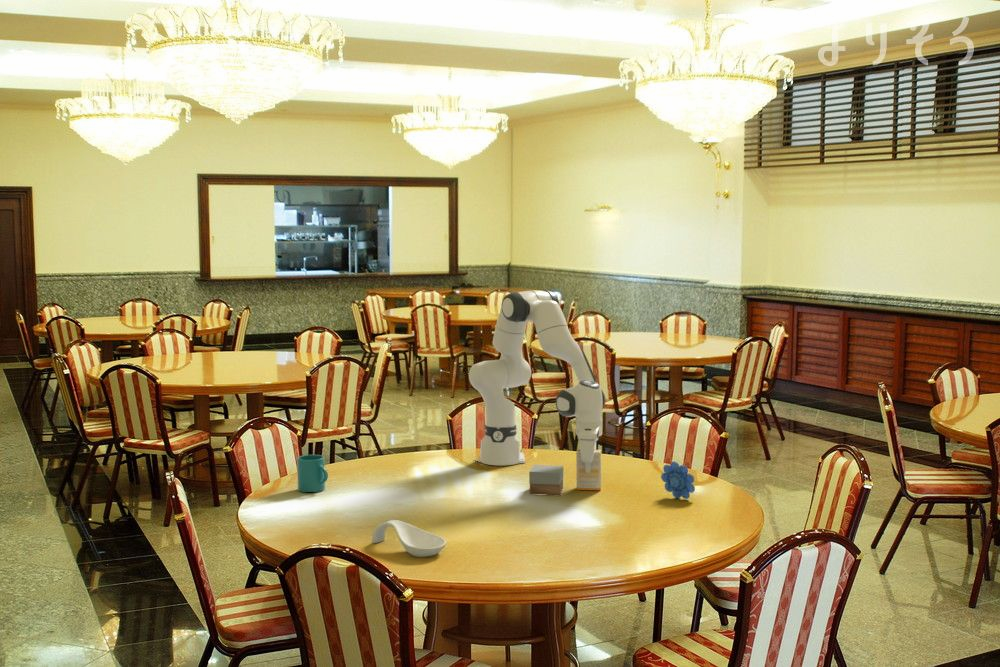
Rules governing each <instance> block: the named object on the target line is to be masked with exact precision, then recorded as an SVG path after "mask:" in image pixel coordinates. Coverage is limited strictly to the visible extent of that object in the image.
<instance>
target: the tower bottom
mask: <svg viewBox="0 0 1000 667" xmlns="http://www.w3.org/2000/svg"><path fill="white" fill-rule="evenodd" d="M562 489H563V490H564V478H563V479H562V481H561V483H560V485H551V484H529V495H530V494H547V495H546V496H555V495H560V494H562V492H563V490H562ZM560 496H561V495H560Z"/></svg>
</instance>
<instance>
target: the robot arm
mask: <svg viewBox="0 0 1000 667" xmlns="http://www.w3.org/2000/svg"><path fill="white" fill-rule="evenodd" d="M559 300H560V299H559V297H558V296H557V294H556V293H555V292H553V291H551V290H545V289H542V290H531V289H530V290H525V291H518V292H517V291H515V292H510V293H507V294H506V295H505V296H503V299H502V302H501V308H500V310H499V313H498V316H497V321H496V324H495V328H494V334H493V337H492V338H493V339H492V345H493V348H494V349H495V350H496V351H497V352H498V353H500V358H499V359H492V360H482V361H480V362H477V363H473V365H472V366H471V367H470V369H469V372H468V381H469V383H470V385H471V387H473V388H474V389H475V390H476V391H478V393H479V394H480V395H481V397H482V399H483V403H484V407H485V408H484V409H485V425H484V437H483V438H482V439H481V440H480V453H479V454H480V456H478V457H477V458H475V459H476V460H475V461H476V462H477V461H478V462H477V463H482V464H485V465H489V466H512V465H517V464H518V465H519V464H525V463H526V458H525V454H524V452H522V449H521V448H520V446H521V445H520V440H519V438H518V437H517V433H518V432H517V431H518V430H517V425H516V407H515V406H516V405H515V404H514V402H513V401H512V400H511V399H509V398H506V396H505V393H504V389H513V388H517V387H520V386H524V385H527V384H528V383H529V382H530V380H531V376H532V369H531V366H530V364H529V362H528V361H527V360H526V359H525V358H524V355H523V344H524V340H525V334H526V330H527V323H528V322H532V323H534V327H535V331H536V336H537V338H538V343H539V346H540V347H541V349H542V351H543V352H544V353H546V354H547V355H549V356H550V357H554V358H556V359H559V360H562V361H564V362H567V363H568V364H569V365H570V366H571V367H572V368H573V371H574V373H575V376H576V378H577V380H578V383H577V384H575V385H574V386H571V387H568V388H564V389H561V390H559V391H558V393H557V395H556V397H555V407H556V410H557V412H558V414H560V415H561V416H562V417H567V418H571V417H575V419H576V420H575V434H576V436H577V440H579V450H580V454H581V461H582V462H584V463H585V472H586V473H590V472H591V463H592V461H593V458H594V450H597V441H599V437H601V436H602V435H603V417H602V411H603V410H604V407H605V404H606V396H605V395H606V394H605V392H604V391H603V390H602V387H601V384H599V383H598V380H597V379H596V377H595V374H594V372H593V369H592V368H591V365H590V362H589V360H588V357H587V355H586V353H585V351H584V350H583V348H582V346H581V345H580V344H579V343H578V342H576V340H575V339H574V337H573V336H572V334H571V332H570V330H569V327H568V323H567V320H566V317H565V314H564V313H563V310H562V308H561V306H560V302H559Z"/></svg>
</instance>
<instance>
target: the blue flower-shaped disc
mask: <svg viewBox="0 0 1000 667" xmlns="http://www.w3.org/2000/svg"><path fill="white" fill-rule="evenodd" d="M662 468H663V469H662V470H663V473H661V475H660V478H661V481H662V482H664V483H665V484H664V490H665V491H667V492H668V493H672V496H673V497H674V498H675V499H681V497H682V498H684V499H689V498H690V497H691V496H690V495H691V494H693V493H695V491H696V487H695V485H694V484H693V483H694V482H695V477H694V475H693V474H692V473H689V468H688V467H687V466H686V465H684V464H681V465H680V464H679V463H678V462H676V461H671V462H670V464H665V465H664V466H662Z"/></svg>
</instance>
